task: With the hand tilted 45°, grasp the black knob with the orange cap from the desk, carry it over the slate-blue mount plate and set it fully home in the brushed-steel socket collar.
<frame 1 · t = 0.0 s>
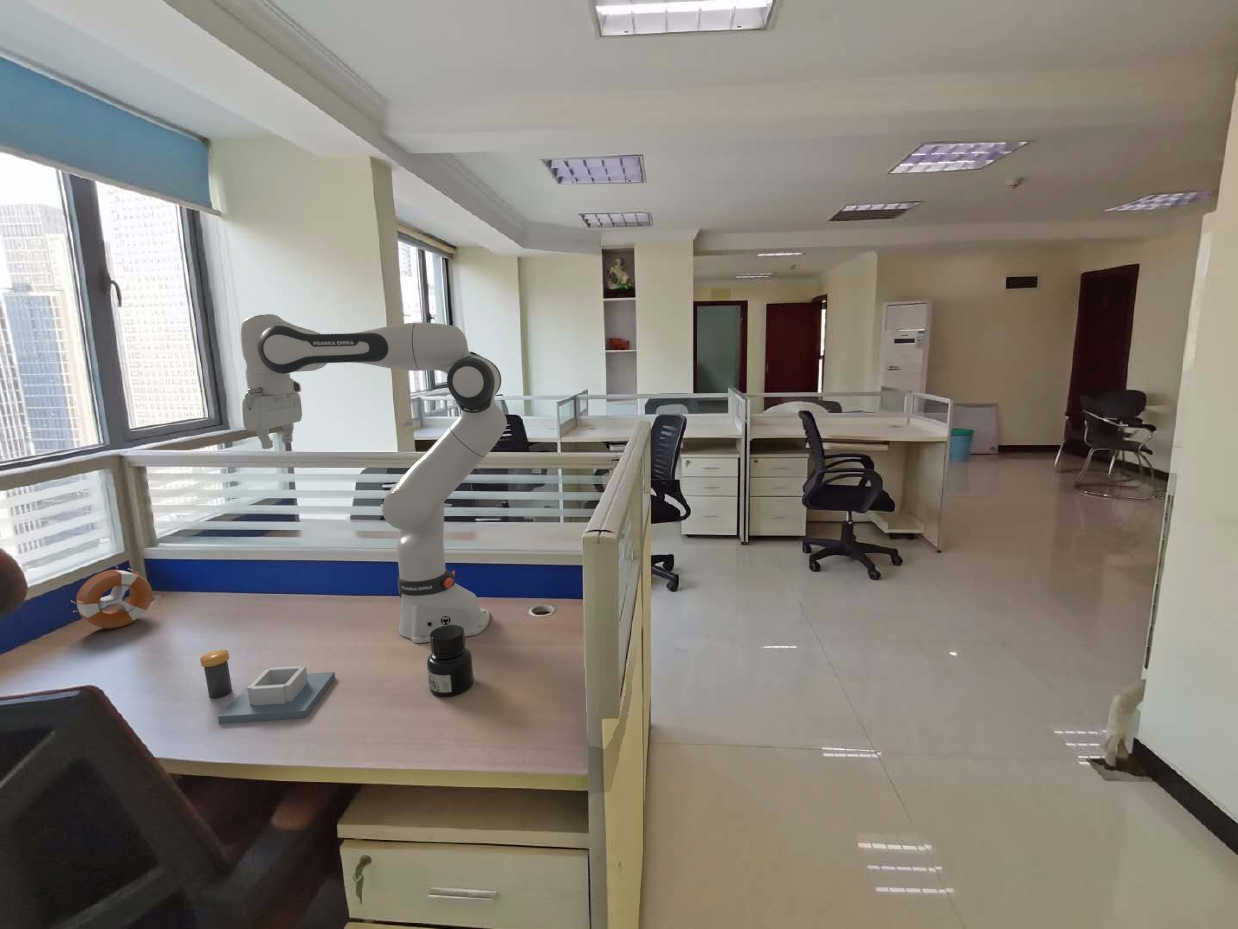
hand: (278, 445, 138), 48 cm above the table, fingers open, 8 cm apart
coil: (118, 625, 156), on the table
ink bottle: (451, 686, 122), on the table
knob: (220, 693, 121), on the table
mount: (280, 699, 118), on the table
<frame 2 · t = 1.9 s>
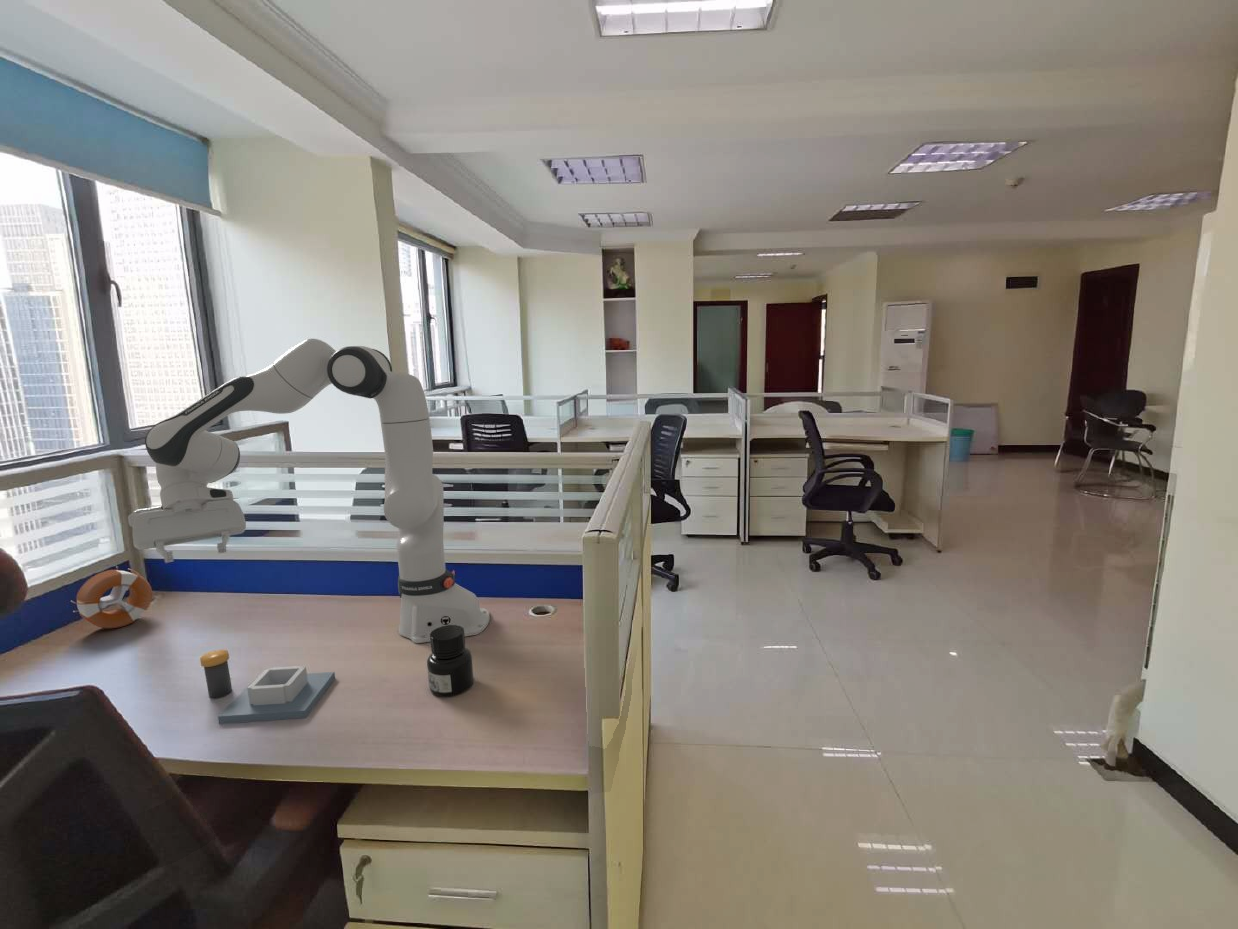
hand: (196, 556, 126), 27 cm above the table, fingers open, 8 cm apart
nothing on the table moved.
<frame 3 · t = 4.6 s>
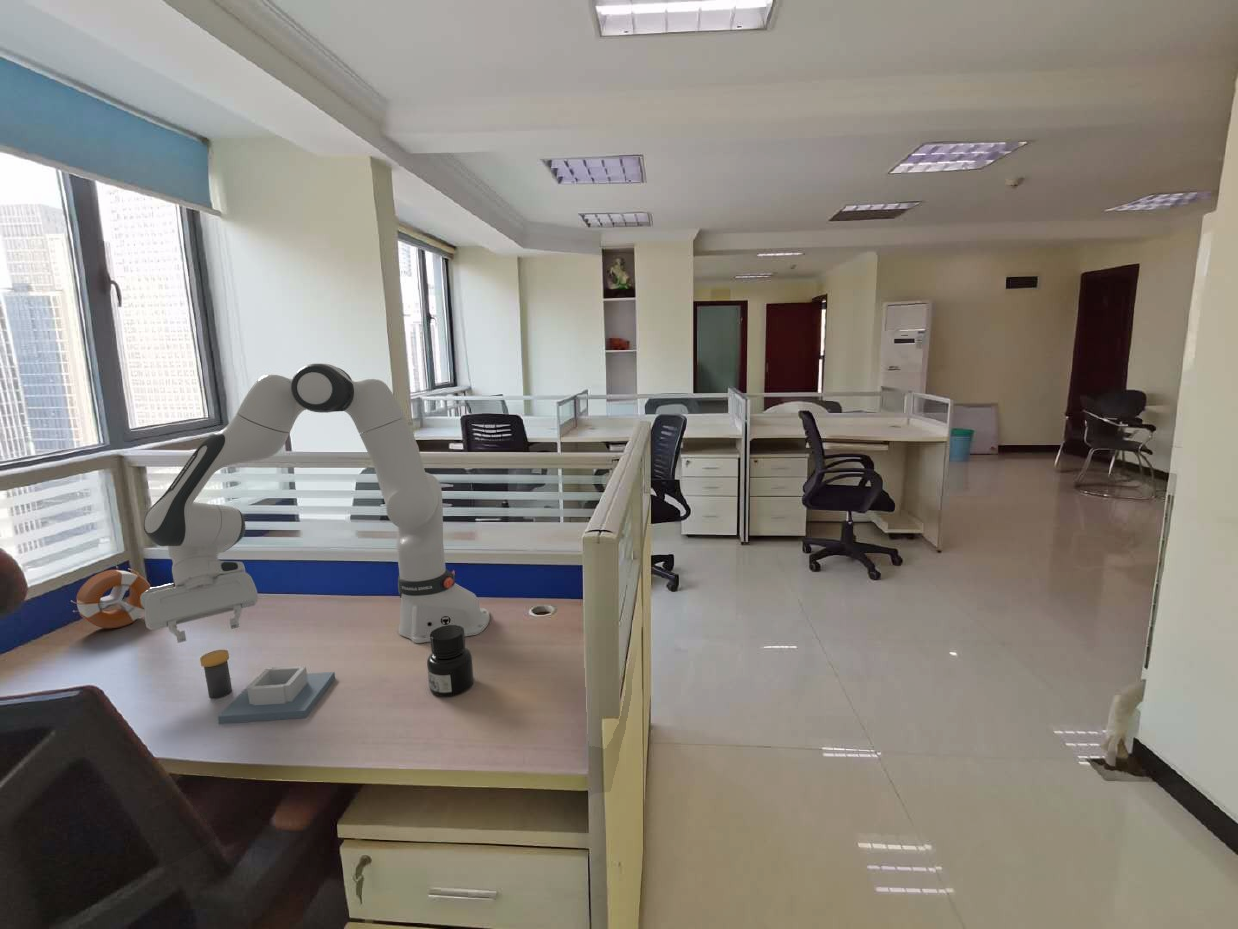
hand: (209, 634, 125), 11 cm above the table, fingers open, 8 cm apart
nothing on the table moved.
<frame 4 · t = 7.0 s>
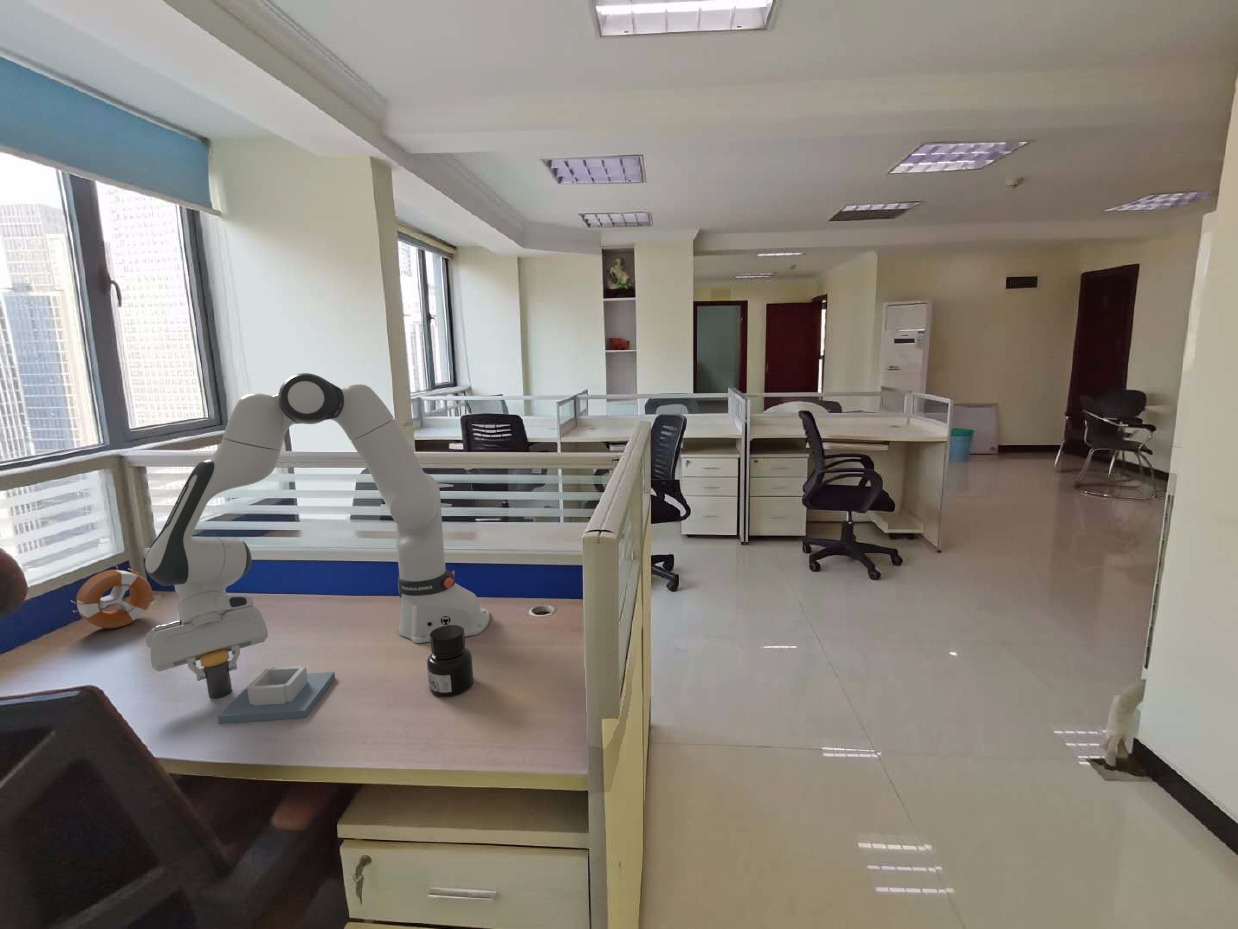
hand: (217, 674, 120), 5 cm above the table, fingers closed on knob, 4 cm apart
knob: (220, 693, 121), on the table, touching gripper
everything else where it was.
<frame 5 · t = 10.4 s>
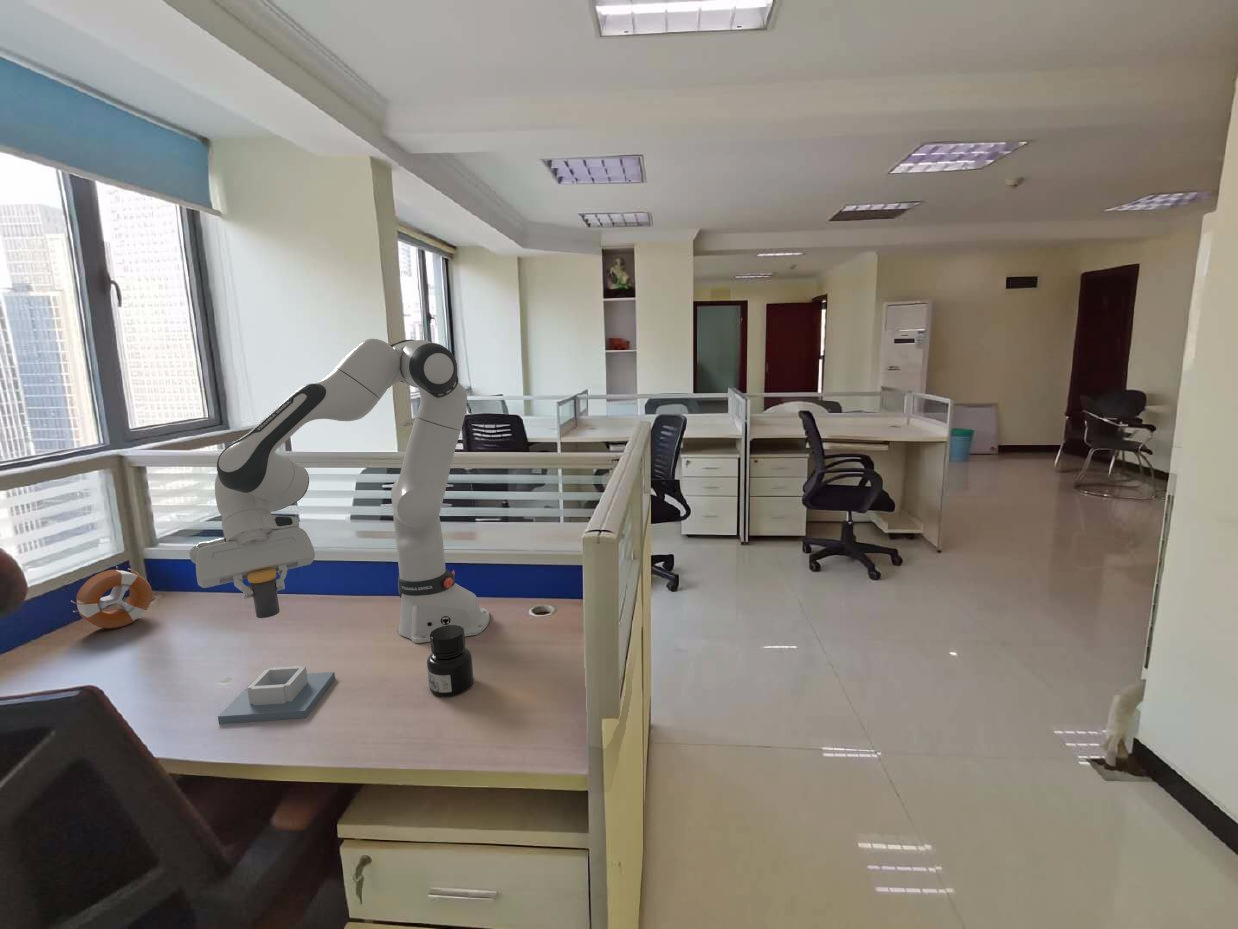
hand: (265, 592, 114), 23 cm above the table, fingers closed on knob, 4 cm apart
knob: (268, 613, 115), point 19 cm above the table, touching gripper
everything else where it was.
when the fingers open (8 cm above the table, at t = 13.8 s): knob stays where it is, resting on mount.
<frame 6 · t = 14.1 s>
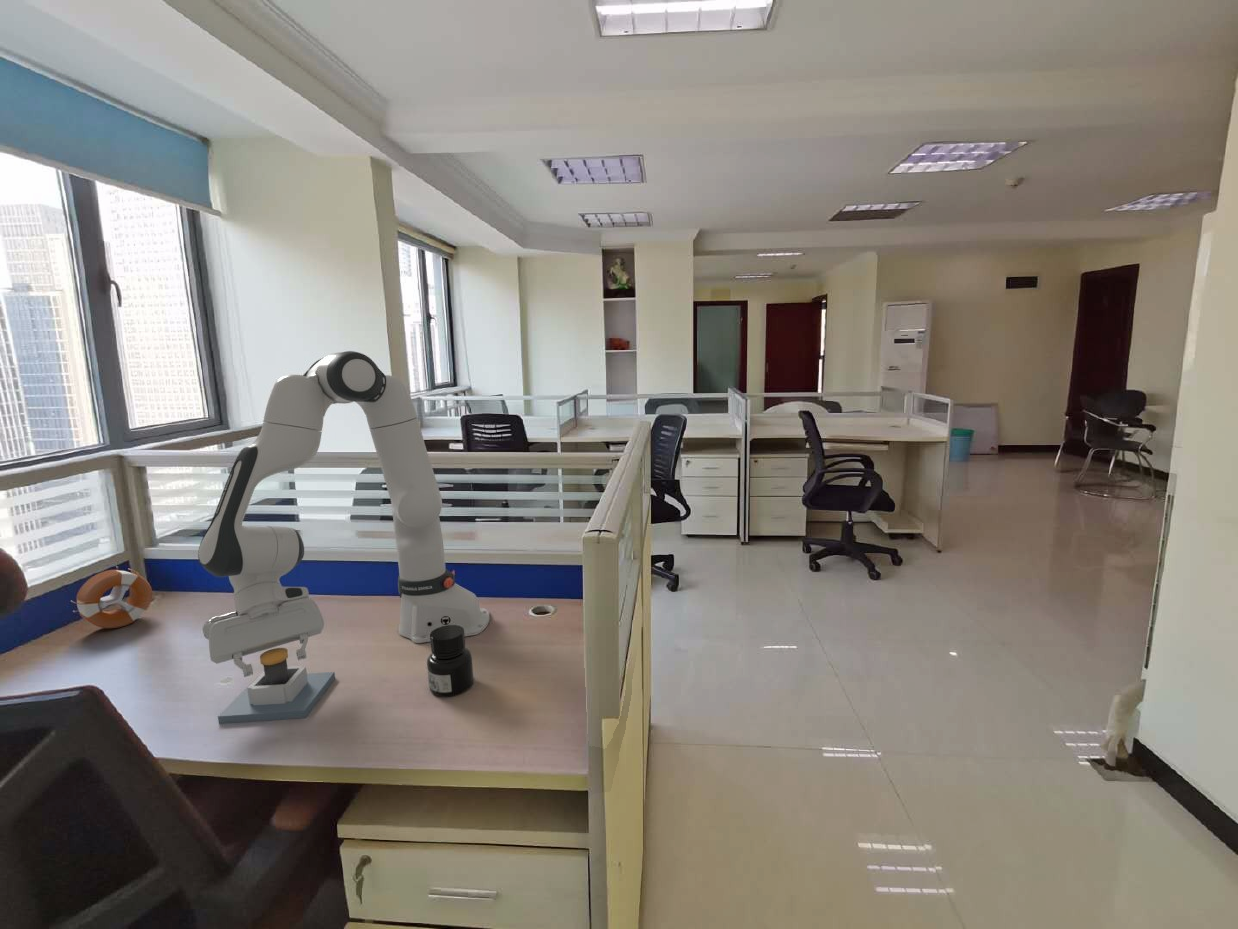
hand: (276, 666, 117), 8 cm above the table, fingers open, 8 cm apart
knob: (279, 692, 118), point 2 cm above the table, touching mount
everything else where it was.
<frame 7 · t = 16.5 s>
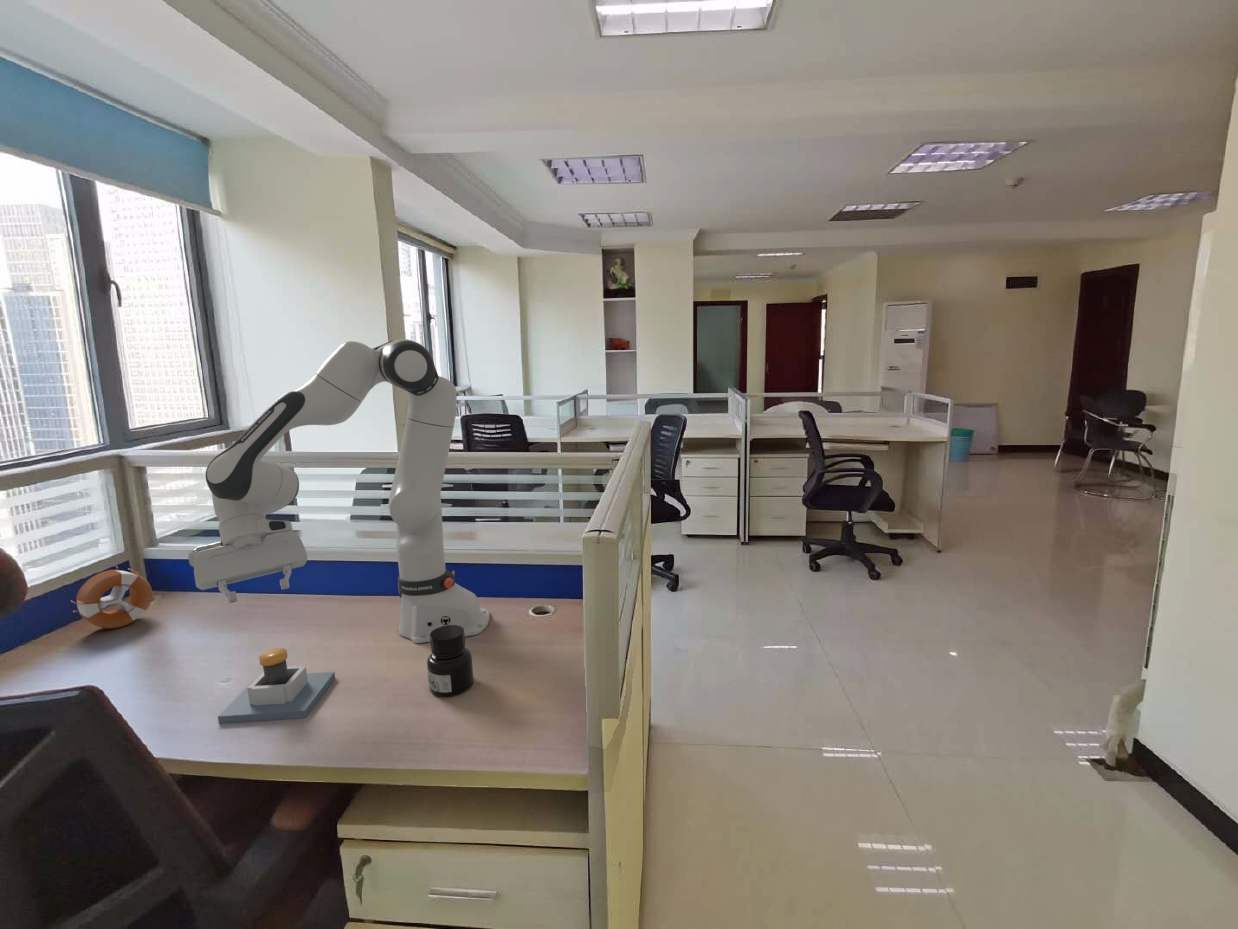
hand: (259, 594, 120), 20 cm above the table, fingers open, 8 cm apart
nothing on the table moved.
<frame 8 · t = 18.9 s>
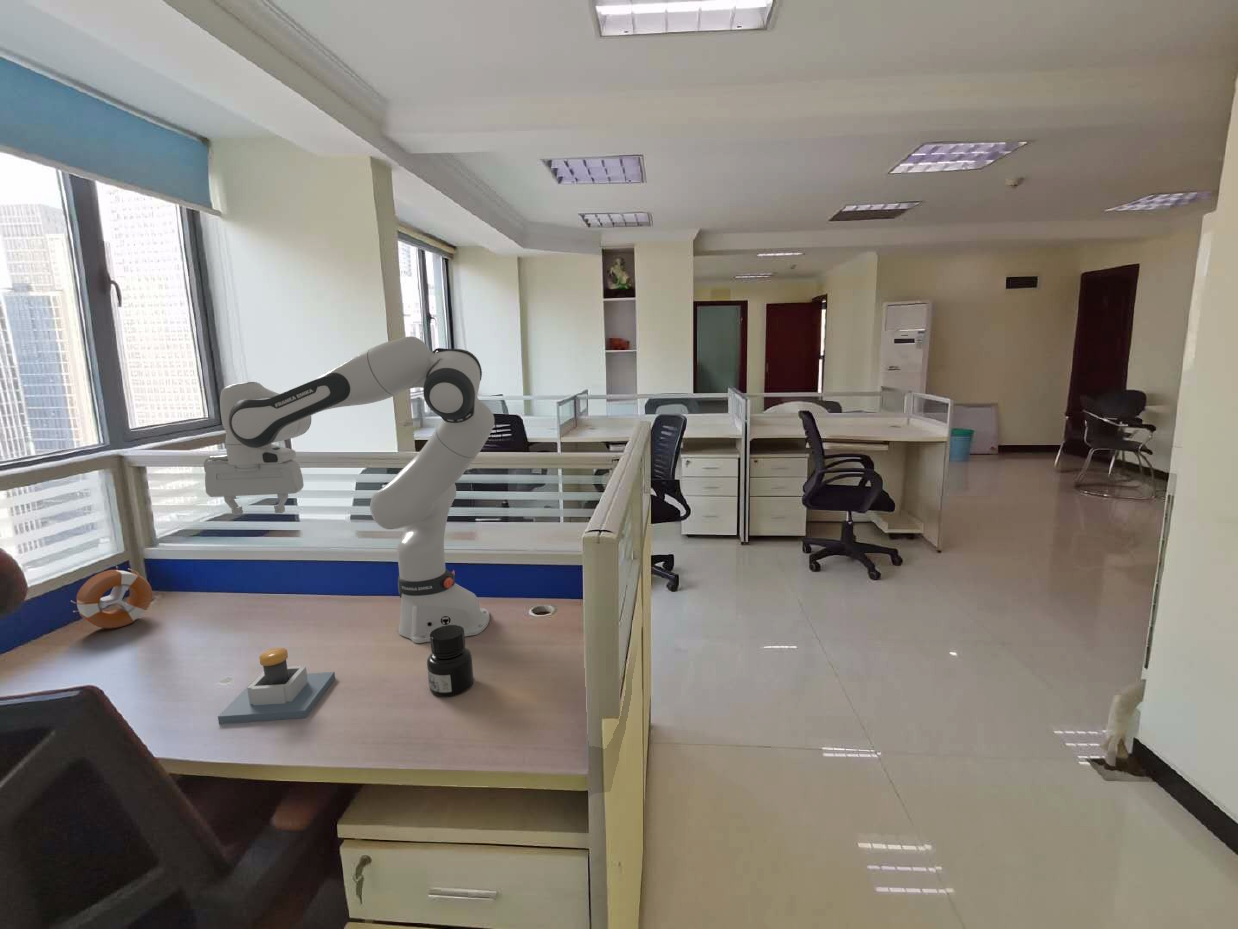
hand: (259, 513, 135), 33 cm above the table, fingers open, 8 cm apart
nothing on the table moved.
at the end: knob 0.1 cm off-centre on the mount, point 1.5 cm above the mount's base; knob tilted 0°; the gripper is holding nothing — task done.
